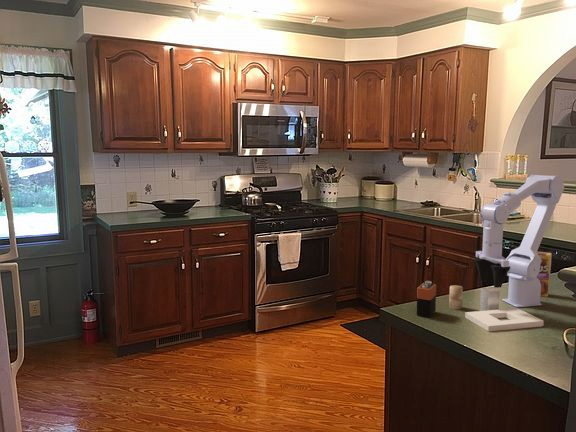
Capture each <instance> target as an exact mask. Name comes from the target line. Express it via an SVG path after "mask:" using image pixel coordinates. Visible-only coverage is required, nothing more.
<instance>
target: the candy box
mask: <svg viewBox="0 0 576 432" xmlns="http://www.w3.org/2000/svg"><path fill="white" fill-rule="evenodd" d="M537 254H538V255H539V257H540V258H541V260H542V261H541V264H540V271H539V274H538V276H537V277H536V278H538V279H539V281H540V283H541V295H540V297H548V296H549V293H550V280H551V270H552V269H551V267H552V256H553V254H552V252H545V251H538V250H537Z"/></svg>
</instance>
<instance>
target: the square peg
mask: <svg viewBox="0 0 576 432" xmlns="http://www.w3.org/2000/svg"><path fill="white" fill-rule="evenodd" d="M500 293H501V292H500V290H499V289H496V288H495V287H481V288H480V297H479V298H480V302H479V303H480V304H479V310H480V311H487V310H498V309H500Z"/></svg>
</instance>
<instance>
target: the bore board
mask: <svg viewBox="0 0 576 432" xmlns="http://www.w3.org/2000/svg"><path fill="white" fill-rule="evenodd" d="M464 318H466V319H467V320H469V321H471V322H472V323H474V324H475V325H477V326H479V327H480V328H482V329H484V330H485V331H487V332H495V331H506V330H517V329H527V328H529V329H530V328H538V327H544V326H545V325H544V322H545V320H543V319H541V318H538V317H537V316H534V315H533V314H531V313H528V312H526V311H524V310H522V309H520V308H519V307H512V308H511V307H509V308H499V309H498V310H487V311H483V310H478V311H476V310H475V311H467V312H466V311H465V312H464ZM503 318H506V319H505V320H500V319H503Z"/></svg>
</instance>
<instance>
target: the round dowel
mask: <svg viewBox="0 0 576 432" xmlns="http://www.w3.org/2000/svg"><path fill="white" fill-rule="evenodd" d="M463 289H464V287H463V286H462V285H455V284H454V285H450V286H449V297H448V301H449V302H448V308H449V309H450V310H457V311H458V310H459V311H460V310H462V309H463V291H464V290H463Z"/></svg>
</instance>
